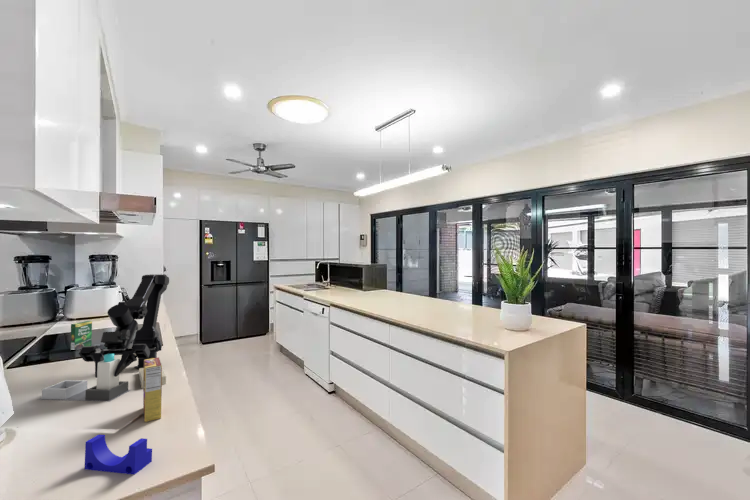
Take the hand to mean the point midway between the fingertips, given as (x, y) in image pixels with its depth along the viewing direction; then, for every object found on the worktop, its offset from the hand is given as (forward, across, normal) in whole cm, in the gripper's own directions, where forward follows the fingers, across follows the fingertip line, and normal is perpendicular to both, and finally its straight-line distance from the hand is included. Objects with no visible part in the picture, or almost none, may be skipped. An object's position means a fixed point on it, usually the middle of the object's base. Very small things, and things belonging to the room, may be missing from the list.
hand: (105, 376), depth 104 cm
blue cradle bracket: (+33, +21, -22) cm, 45 cm away
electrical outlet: (-5, +8, +16) cm, 18 cm away
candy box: (+16, +18, -5) cm, 25 cm away
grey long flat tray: (+3, -7, +7) cm, 10 cm away
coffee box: (-43, -41, +53) cm, 80 cm away
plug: (+4, 0, +6) cm, 7 cm away
